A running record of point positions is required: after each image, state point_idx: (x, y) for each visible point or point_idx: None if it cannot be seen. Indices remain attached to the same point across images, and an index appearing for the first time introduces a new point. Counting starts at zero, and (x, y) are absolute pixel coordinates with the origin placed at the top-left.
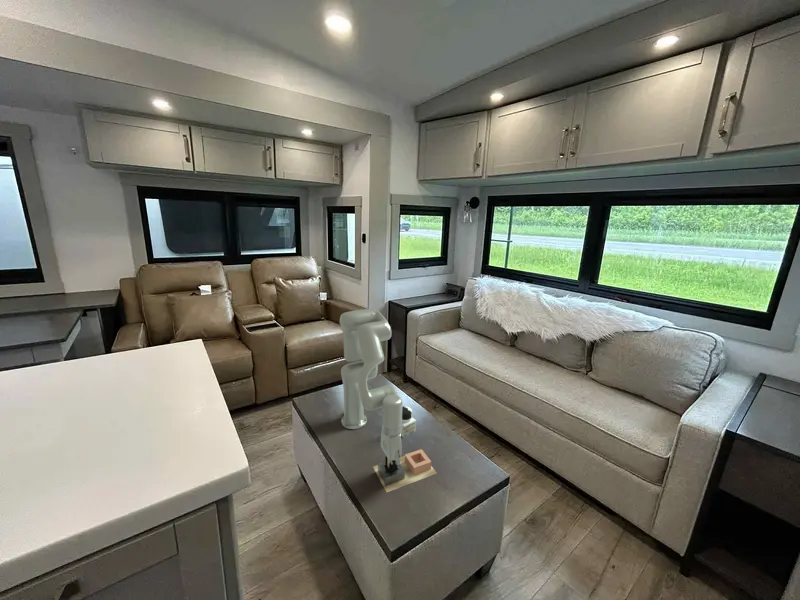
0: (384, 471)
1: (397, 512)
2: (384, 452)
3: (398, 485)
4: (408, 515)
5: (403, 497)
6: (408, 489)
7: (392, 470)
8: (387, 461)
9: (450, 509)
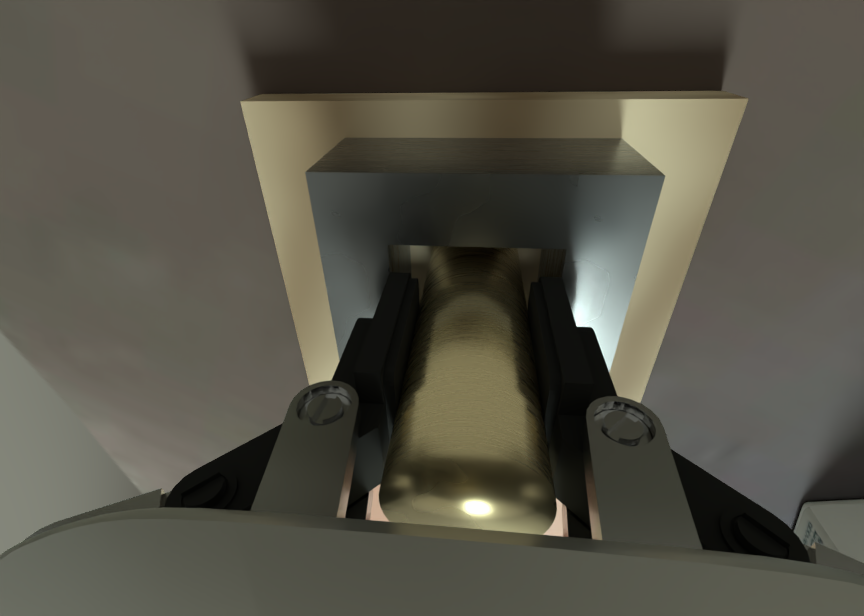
0: (441, 207)
1: (48, 117)
2: (497, 574)
3: (308, 265)
4: (25, 199)
5: (216, 244)
6: (292, 315)
7: (358, 319)
8: (499, 347)
9: (97, 439)
